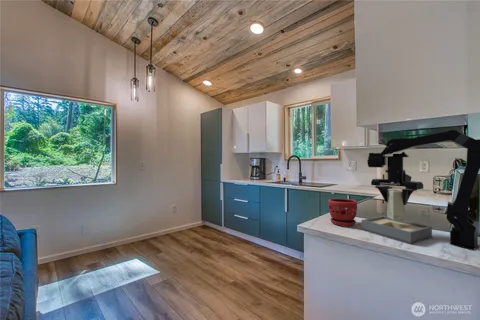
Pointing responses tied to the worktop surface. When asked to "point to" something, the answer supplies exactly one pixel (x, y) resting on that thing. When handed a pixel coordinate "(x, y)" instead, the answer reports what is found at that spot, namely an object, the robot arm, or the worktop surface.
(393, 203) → the skincare box
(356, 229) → the worktop surface
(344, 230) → the worktop surface
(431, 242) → the worktop surface
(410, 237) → the socket box
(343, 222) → the plant pot
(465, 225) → the robot arm
